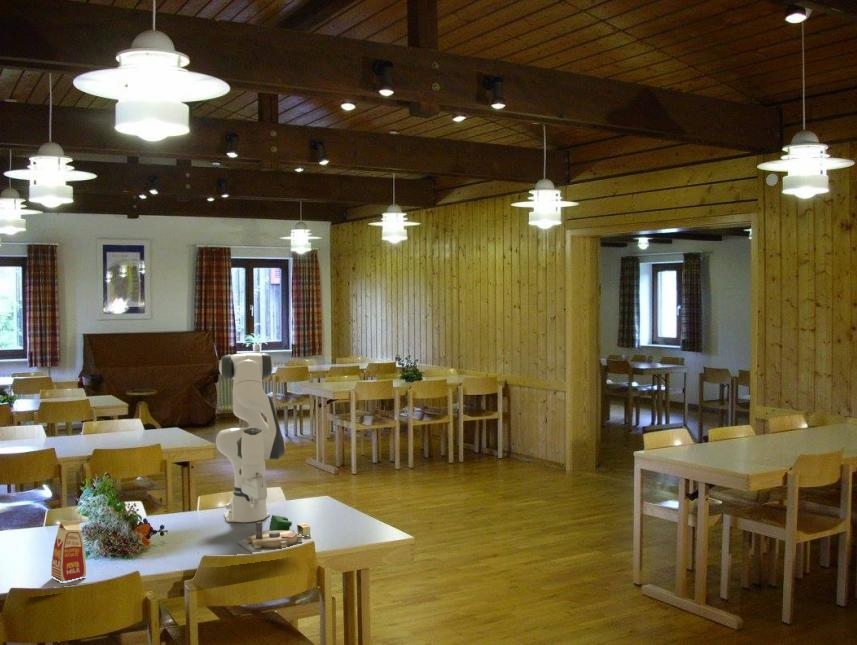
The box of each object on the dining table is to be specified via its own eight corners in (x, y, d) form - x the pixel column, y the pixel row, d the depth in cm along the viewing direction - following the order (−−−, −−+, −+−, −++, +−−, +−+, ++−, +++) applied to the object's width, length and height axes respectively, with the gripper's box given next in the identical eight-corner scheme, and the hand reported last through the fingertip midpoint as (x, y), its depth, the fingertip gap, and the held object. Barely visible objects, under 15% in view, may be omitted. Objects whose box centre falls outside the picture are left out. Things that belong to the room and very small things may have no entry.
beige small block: (297, 534, 337) (297, 523, 336) (304, 533, 338) (304, 522, 338) (303, 537, 331) (302, 526, 331) (310, 536, 333) (310, 525, 333)
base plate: (237, 542, 325) (237, 540, 325) (291, 534, 336) (291, 532, 336) (256, 556, 306) (256, 553, 306) (313, 546, 317) (313, 544, 317)
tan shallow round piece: (242, 539, 325) (241, 518, 325) (288, 532, 335) (287, 511, 335) (259, 551, 308) (259, 529, 308) (308, 543, 317) (307, 522, 317)
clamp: (286, 544, 338) (293, 525, 335) (272, 542, 335) (278, 523, 333) (282, 526, 348) (289, 508, 346) (268, 524, 346) (275, 506, 343)
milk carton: (62, 584, 278) (61, 523, 278) (49, 579, 284) (48, 519, 284) (89, 577, 285) (88, 517, 285) (76, 572, 291) (75, 514, 291)
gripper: (270, 474, 316) (271, 511, 316) (253, 467, 334) (253, 502, 334) (254, 476, 313) (255, 513, 313) (237, 469, 331) (238, 504, 331)
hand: (254, 508), depth 324 cm, fingers closed
